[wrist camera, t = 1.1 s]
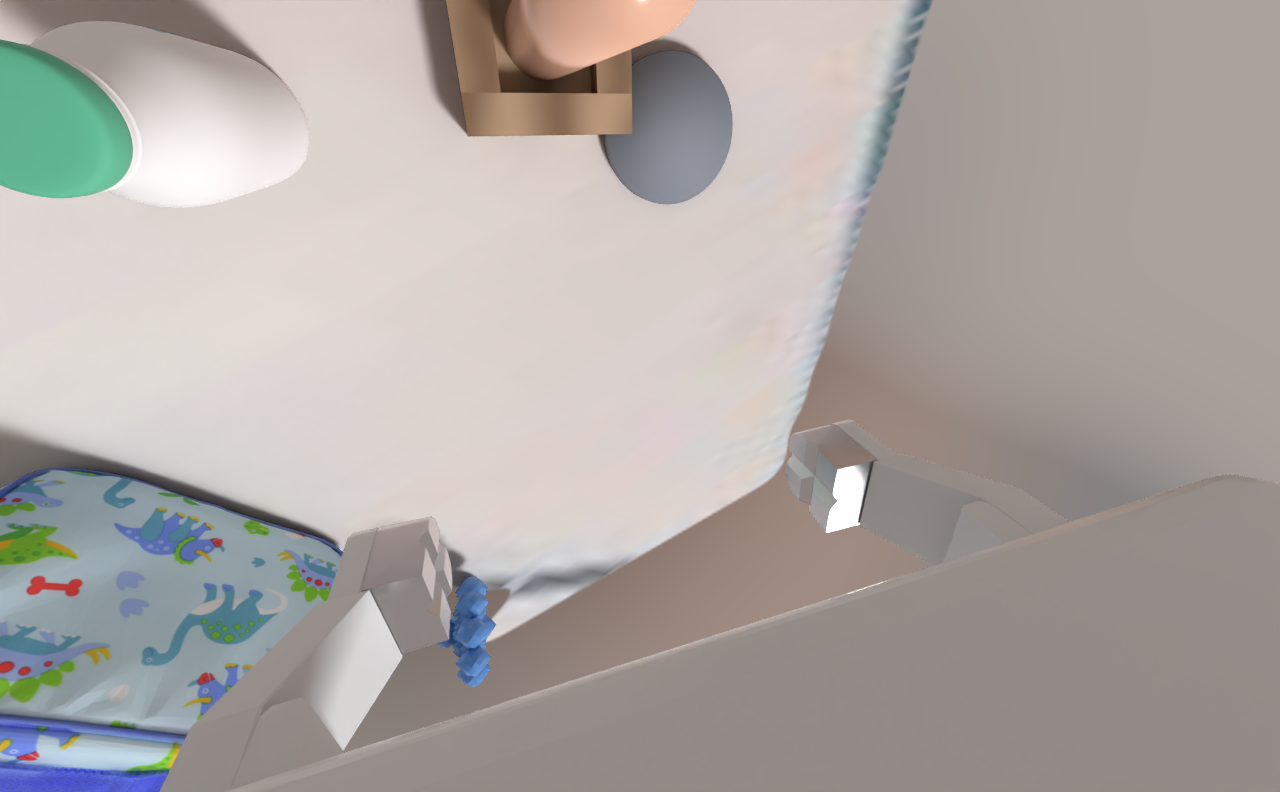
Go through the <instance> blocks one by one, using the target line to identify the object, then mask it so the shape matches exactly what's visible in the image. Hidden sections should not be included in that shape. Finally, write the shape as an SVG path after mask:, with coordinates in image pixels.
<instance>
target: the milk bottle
mask: <svg viewBox="0 0 1280 792" xmlns="http://www.w3.org/2000/svg"><path fill="white" fill-rule="evenodd" d="M308 149H309V129H308V124H307V121H306V118H305V115H304V112H303V110H302V108H301V106H300V104H299V102H298V101H297V99H296V98H295V96H294V95H293V93H292V92H291V91H290V89H289V88H288V87H287V86H286V85H285V84H284V83H283V82H282V81H281V80H280V79H279V78H278V77H277V76H276V75H275V74H274V73H273V72H271V71H270V70H269V69H267V68H266V67H264V66H263V65H261V64H260V63H258V62H256V61H254V60H252V59H250V58H248V57H246V56H244V55H241V54H238V53H236V52H233V51H230V50H227V49H224V48H220V47H217V46H213V45H210V44H207V43H203V42H200V41H196V40H193V39H189V38H186V37H182V36H179V35H175V34H171V33H168V32H164V31H160V30H157V29H152V28H148V27H143V26H138V25H133V24H128V23H123V22H113V21H85V22H78V23H73V24H68V25H64V26H61V27H58V28H55V29H53V30H51V31H49V32H47V33H45V34H44V35H42V36H40V37H39V38H38V39H36V40H35V41H34V42H33V43H32V44H31V45H27V44H19V43H14V42H10V41H5V40H0V185H2V186H4V187H7V188H9V189H12V190H15V191H19V192H22V193H26V194H30V195H36V196H41V197H49V198H72V197H80V196H87V195H91V194H94V193H98V192H105V191H108V192H110V193H113V194H115V195H118V196H120V197H124V198H127V199H130V200H133V201H136V202H140V203H144V204H150V205H156V206H163V207H179V208H181V207H199V206H205V205H210V204H214V203H218V202H222V201H226V200H229V199H233V198H236V197H239V196H242V195H245V194H248V193H251V192H254V191H257V190H259V189H262V188H265V187H268V186H271V185H273V184H276V183H279V182H281V181H283V180H285V179H287V178H289V177H290V176H292V175H293V174H294V173H296V172H297V171H298V170H299V168H300V167H301V166H302V164H303V163H304V161H305V159H306V156H307V153H308Z"/></svg>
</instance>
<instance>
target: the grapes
mask: <svg viewBox="0 0 1280 792" xmlns="http://www.w3.org/2000/svg"><path fill="white" fill-rule="evenodd" d="M487 588H488V587H487V586H486V585H485V584H484V583H483V582H482V581H481V580H480V579H478V578H477V577H473V576H472V577H469V578H467V579H465V581H464V582H463V583H462V584H461V585H460V586H459V588H458V589H457V591H456V594H457V597H458V598H459V602H458V603H457V605H456V606H455V608H456V609H455V611H454V612H453V616H454V619H453V620H450V629H449V640H446V641H443V642H440V643H437V644H438V645H439V646H440V647H443V648H449V647H451V646H452V645H453V646H452V647H453V648H454V649H455V650H454V651H453V653H454V654H456V655H457V656H458V657H459V659H458V661H457V663H456V665H457V666H458V667H459V668H460V671H459V672H458V674H457V676H458V677H459V678H460V679H461V680H462V681H463V682H465V683H466V684H467V685H468V686H477V685H478V684H480V683H481V682H482V681H483V679H484V678H485V676H486V674H487V673H488V671H489V670H490V668H491V667H490V666H489V665H488V664H487V663H488V661H489V659H490V658H491V656H490V655H489V654H488V653H487V652H486V651H485V650H484V648H485V647H486V645H485V642H486V639H487V637H488V636H489V635H490V633H491V632H492V630H493V629H494V627H495V625H496V624H495V623H494V622H493V621H492V620H491V619H490V618H489V617H488V616H487V615H485V613H486V612H487V609H486V608H485V607H486V605H487V604H488V602H489V601H488V600H487V599H486V598H485V597H484V595H485V594H486V592H487V591H486V589H487Z"/></svg>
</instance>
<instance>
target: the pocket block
mask: <svg viewBox="0 0 1280 792" xmlns="http://www.w3.org/2000/svg"><path fill="white" fill-rule="evenodd" d="M510 1H511V0H446V5H447V12H448V18H449V24H450V30H451V36H452V42H453V49H454V55H455V61H456V67H457V73H458V79H459V86H460V92H461V98H462V104H463V110H464V116H465V123H466V129H467V135H468V136H529V135H594V134H632V53H631V49H630V50H627V51H625V52H622V53H620V54H618V55H615V56H613V57H610V58H608V59H605V60H603V61H600V62H598V63H595V64H593V65H590V66H588V67H585V68H583V69H580V70H578V71H576V72H573V73H571V74H568V75H566V76H563V77H561V78H558V79H556V80H552V81H538V80H535V79H533V78H530V77H529V76H527V75H525V74H524V73H523V72H522V71H520V70H519V69H518V68H517V66H516V65H515V64H514V63H513V61H512V59H511V58H510V56H509V54H508V52H507V49H506V46H505V42H504V36H503V22H504V16H505V13H506V10H507V8H508V6H509V4H510Z"/></svg>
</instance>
